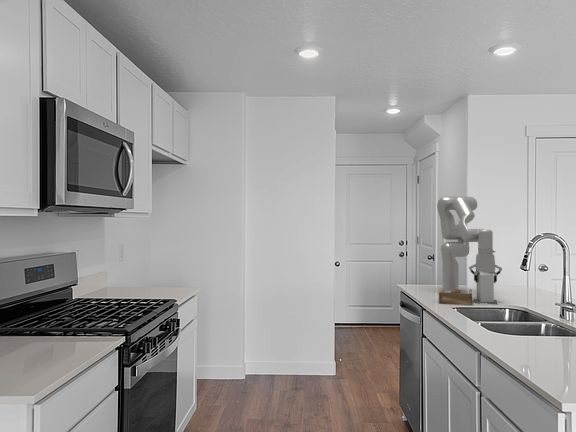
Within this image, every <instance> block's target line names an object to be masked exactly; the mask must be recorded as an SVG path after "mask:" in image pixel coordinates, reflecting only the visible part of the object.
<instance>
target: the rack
mask: <svg viewBox="0 0 576 432" xmlns="http://www.w3.org/2000/svg"><path fill="white" fill-rule="evenodd" d="M438 304H440V305H441V304H443V305H459V306H460V305H461V306H472V305H473V289H468V293H467V292H466V293H464V292H461V293H448V292H443V287H442V288H440V289H439V292H438Z"/></svg>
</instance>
